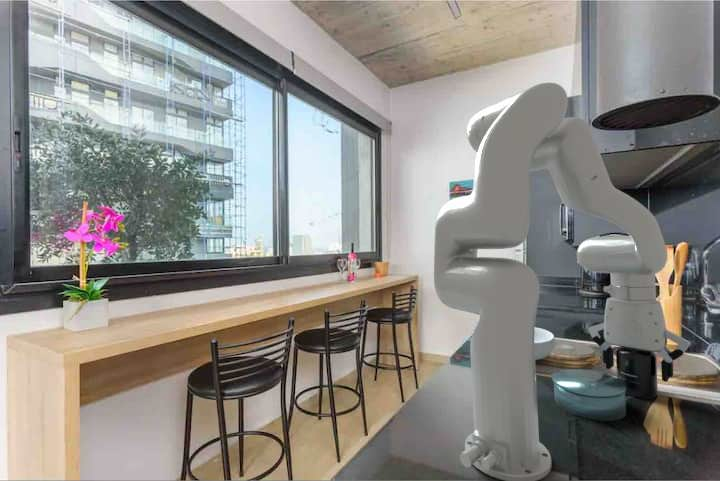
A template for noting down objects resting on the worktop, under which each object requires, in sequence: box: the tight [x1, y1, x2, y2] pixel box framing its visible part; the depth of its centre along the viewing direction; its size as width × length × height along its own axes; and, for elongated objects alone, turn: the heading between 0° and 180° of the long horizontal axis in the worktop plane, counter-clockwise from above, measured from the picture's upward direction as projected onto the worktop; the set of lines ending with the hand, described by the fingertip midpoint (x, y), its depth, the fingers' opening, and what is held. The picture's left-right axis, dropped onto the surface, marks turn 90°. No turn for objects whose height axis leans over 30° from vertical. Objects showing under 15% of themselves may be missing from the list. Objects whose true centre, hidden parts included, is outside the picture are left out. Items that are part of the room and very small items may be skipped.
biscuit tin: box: [551, 368, 627, 422], centre depth 70 cm, size 12×12×5 cm
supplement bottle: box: [615, 346, 658, 399], centre depth 74 cm, size 7×7×12 cm
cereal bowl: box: [534, 326, 556, 362], centre depth 98 cm, size 17×17×7 cm
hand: (636, 373), depth 74 cm, fingers open, 9 cm apart
